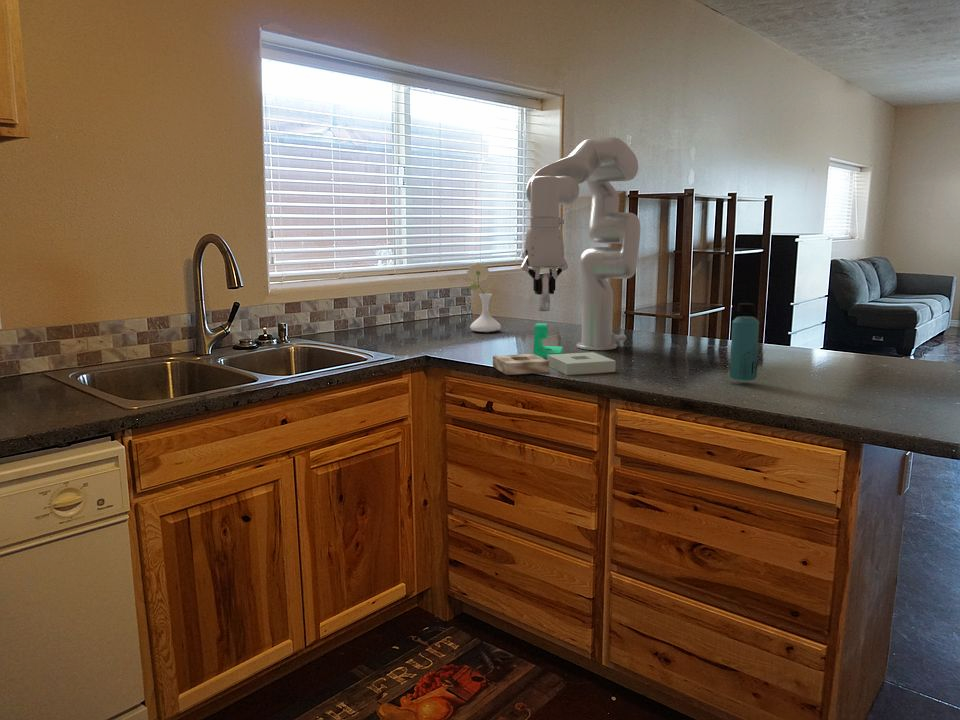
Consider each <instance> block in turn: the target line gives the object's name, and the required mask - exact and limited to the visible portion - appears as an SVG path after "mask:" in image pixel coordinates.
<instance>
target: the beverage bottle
mask: <svg viewBox="0 0 960 720" xmlns="http://www.w3.org/2000/svg"><path fill="white" fill-rule="evenodd" d="M736 311H737V312H738V313H746V314H750V313H756V304H755V303H751V302H741V303H740V302H739V303H738V304H737V309H736ZM731 323H732V325H731V327H732V328H731V340H730V341H731V342H730V343H731V344H730V357H729V361H730V362H729V373H728V374H729V377H730V379H733V380H737V381H755V380H756V378H757V376H758V362H759V361H758V355H759V339H760V338H759V329H760V328H759V326H760V321H759V320H758V319H757V318H756V317H754V316H745V315H744V316H736V317H735V318H734V319H733V320H732V322H731Z"/></svg>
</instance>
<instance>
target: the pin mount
mask: <svg viewBox="0 0 960 720" xmlns="http://www.w3.org/2000/svg"><path fill="white" fill-rule="evenodd" d="M492 367H493V368H494V369H496V370H498V371H499V372H501V373H502V374H505V375H507V376H509V375H526V374H527V375H528V374H539V373H541V374H542V373H550V367H549V361H548V360H547V359H544V358H542V357H540V356H537V355H535V354H533V353H522V354H521V353H519V354H505V355H504V354H503V355H493V356H492Z"/></svg>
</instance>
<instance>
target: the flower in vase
mask: <svg viewBox="0 0 960 720" xmlns="http://www.w3.org/2000/svg"><path fill="white" fill-rule="evenodd" d="M466 274H467V275H468V277H469V279H471V280H472V281H475V282H477V284H475V283H473V284H471V285H470V286H469V287H467V289H468V290H472V291H477V290H478V289H480V291H481V293H478V296H479V298H480V300H481V305H482V308H481V310H482V311H481V314H480V315H479V317H477V318H476V319H475V320H474V321H473V322H472V323H470V326H469V328H470V329H471V331H475V332H478V333H479V332H480V333H491V332H497V331H499V330H500V329H501V328H502V326H501V324H500V322H498V321H497V320H496V319H495V318H493V316H492V315H491V314H490V312H489V311H490V310H489V309H490V307H489V306H490V300H491V297H492V296H493V293H489V292H488V293H485V292H484V291H486V290H489V289H491V287H492V286H493V284H490V285H488V286H485V287H484V288H483V289H482V288H481V287H480V283H479V282H481V281H485V280H488V277H489V275H490V271H489V267H487V265H484V264H483V263H479V262H477V263H476V262H474V263H473V264H471V265H469V266H468V269H467V271H466Z"/></svg>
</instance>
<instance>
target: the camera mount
mask: <svg viewBox="0 0 960 720" xmlns="http://www.w3.org/2000/svg"><path fill="white" fill-rule="evenodd" d="M548 327H549V326H548V323H543V322H542V323H541V322H540V323H538V322H537V323H535V326H534V337H533V349H532V350H533V351H532V354H535V355H537V356H540V357H542V358H544V359H546V360H547V355H553V354H564V353H563V352H564V347H563V346H559V345H553V346H552V345H544V339H547V338H548V333H549V332H548Z"/></svg>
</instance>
